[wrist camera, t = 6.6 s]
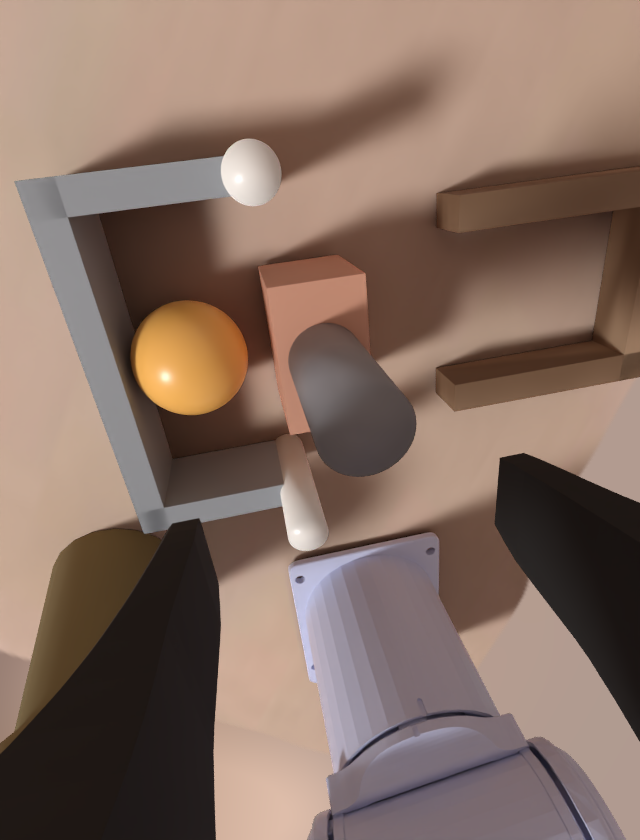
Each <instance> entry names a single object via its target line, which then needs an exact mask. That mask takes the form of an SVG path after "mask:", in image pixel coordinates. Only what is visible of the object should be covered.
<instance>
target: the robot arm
mask: <svg viewBox="0 0 640 840" xmlns="http://www.w3.org/2000/svg"><path fill="white" fill-rule="evenodd" d="M495 526H496V527H497V529H498V531H499V533H500V535H501V536H502V538H503V540H504V542H505V544H506V545H507V547H508V549H509V550H510V552H511V554H512V556H513V557H514V559H515V560H516V562H517V563H518V564H519V566H520V567H521V569H522V570H523V571H524V573H525V574H526V575H527V577H528V578H529V579H530V581H531V582H532V583H533V584H534V586H535V587H536V588H537V590H538V591H539V592H540V594H541V595H542V596H543V598H544V599H545V600H546V601H547V603H548V604H549V605H550V607H551V608H552V609H553V611H554V612H555V613H556V615H557V616H558V617H559V618H560V620H561V621H562V622H563V624H564V625H565V626H566V627H567V629H568V630H569V631H570V632H571V634H572V635H573V637H574V638H575V639H576V641H577V642H578V643H579V645H580V646H581V648H582V649H583V650H584V652H585V653H586V655H587V656H588V657H589V659H590V661H591V662H592V664H593V666H594V667H595V668H596V670H597V672H598V674H599V675H600V677H601V678H602V680H603V681H604V683H605V685H606V686H607V688H608V689H609V691H610V693H611V694H612V696H613V697H614V699H615V701H616V702H617V704H618V706H619V707H620V709H621V711H622V712H623V714H624V716H625V718H626V719H627V721H628V723H629V724H630V726H631V728H632V729H633V731H634V733H635V734H636V736H637V738H638V740H639V741H640V503H639V502H636V501H634V500H631V499H629V498H627V497H624V496H622V495H619V494H617V493H614V492H612V491H610V490H608V489H605V488H603V487H601V486H599V485H596V484H594V483H592V482H589V481H587V480H585V479H583V478H581V477H578V476H576V475H574V474H572V473H570V472H567V471H565V470H563V469H561V468H559V467H556V466H554V465H552V464H549V463H547V462H545V461H543V460H540V459H538V458H535V457H533V456H530V455H528V454H525V453H522V454H517V455H512V456H507V457H502V458H500V464H499V476H498V489H497V501H496V514H495ZM431 547H432V548H431ZM428 548H431V549H429V550H427V549H428ZM288 571H289V576H290V581H291V587H292V592H293V597H294V602H295V607H296V613H297V618H298V623H299V628H300V633H301V639H302V644H303V649H304V654H305V659H306V665H307V670H308V675H309V679H310V681H312V682H314V683H317V685H318V690H319V695H320V701H321V706H322V712H323V717H324V722H325V728H326V733H327V738H328V744H329V749H330V755H331V759H332V765H333V770H334V774H332V775H329V776H328V777H327V778H326V782H327V788H328V794H329V800H330V805H331V810H330V809H329V810H326V811H323V812H320V813H319V814H317V815H316V816H315V818H314V821H313V824H312V829H311V831H310V833H309V836H308V838H307V840H626V838H625V837H624V835H623V833H622V831H621V829H620V827H619V826H618V824H617V822H616V820H615V819H614V817H613V815H612V813H611V812H610V810H609V808H608V807H607V805H606V804H605V802H604V800H603V798H602V797H601V795H600V794H599V792H598V791H597V789H596V788H595V786H594V785H593V783H592V782H591V780H590V779H589V778H588V776H587V775H586V774H585V772H584V771H583V770H582V768H581V767H580V766H579V765H578V764H577V762H576V761H575V760H574V759H573V758H572V757H571V756H570V755H568V754H567V753H566V752H565V751H563V750H561V749H560V748H558V747H556V746H554V745H553V744H552V743H551V742H550V741H548V740H546V739H545V738H543V737H534V738H532V739H528V740H525V738H524V736H523V734H522V732H521V731H520V728H519V727H518V725H517V723H516V721H515V719H514V717H513V715H512V714H510V713H508V714H504V715H501V716H500V714H499V712H498V710H497V708H496V707H495V705H494V703H493V701H492V699H491V697H490V695H489V693H488V691H487V689H486V687H485V685H484V683H483V682H482V679H481V677H480V676H479V674H478V672H477V670H476V668H475V666H474V664H473V662H472V660H471V658H470V656H469V654H468V652H467V650H466V648H465V646H464V644H463V642H462V640H461V639H460V637H459V635H458V633H457V631H456V629H455V627H454V625H453V623H452V621H451V619H450V617H449V615H448V613H447V611H446V609H445V607H444V605H443V604H442V602H441V600H440V598H439V539H438V537H437V535H436V534H435V533H432V532H428V533H423V534H418V535H414V536H409V537H404V538H400V539H395V540H390V541H386V542H381V543H376V544H372V545H367V546H362V547H358V548H353V549H348V550H344V551H339V552H334V553H330V554H325V555H320V556H316V557H311V558H306V559H302V560H297V561H294V562H292V563H291V564H290V565H289V568H288ZM298 576H303V577H301V578H297V577H298ZM220 631H221V620H220V599H219V583H218V580H217V576H216V573H215V569H214V566H213V563H212V559H211V556H210V552H209V549H208V545H207V542H206V539H205V535H204V532H203V528H202V525H201V521H200V518H197V519H192V520H187V521H182V522H177V523H172V524H171V526H170V527H169V528H168V530H167V532H166V534H165V535H164V537H163V539H162V541H161V543H160V545H159V546H158V548H157V550H156V552H155V553H154V555H153V557H152V559H151V560H150V562H149V564H148V566H147V567H146V569H145V571H144V572H143V574H142V576H141V577H140V579H139V580H138V582H137V584H136V585H135V587H134V588H133V590H132V592H131V593H130V595H129V597H128V598H127V600H126V601H125V603H124V604H123V606H122V607H121V609H120V610H119V612H118V613H117V614H116V616H115V617H114V619H113V620H112V622H111V623H110V625H109V626H108V628H107V629H106V630H105V632H104V633H103V635H102V636H101V638H100V639H99V640H98V642H97V643H96V644H95V646H94V647H93V648H92V650H91V651H90V652H89V654H88V655H87V656H86V658H85V659H84V660H83V661H82V663H81V664H80V665H79V667H78V668H77V669H76V670H75V671H74V673H73V674H72V675H71V676H70V678H69V679H68V680H67V681H66V683H65V684H64V685H63V686H62V687H61V689H60V690H59V691H58V692H57V693H56V694H55V695H54V697H53V698H52V699H51V700H50V701H49V702H48V703H47V704H46V706H45V707H44V708H43V709H42V710H41V711H40V712H39V713H38V714H37V715H36V716H35V718H34V719H33V720H32V721H31V722H30V723H29V724H28V725H27V726H26V727H25V729H24V730H23V731H22V732H21V733H20V734H19V735H18V736H17V737H16V738H15V739H14V740H13V742H12V743H11V744H10V745H9V746H8V747H7V748H6V749H5V750H4V751H3V752H2V753H1V754H0V840H216V832H215V801H214V760H213V749H214V722H215V708H216V693H217V678H218V663H219V647H220Z"/></svg>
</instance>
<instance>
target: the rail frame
mask: <svg viewBox="0 0 640 840" xmlns="http://www.w3.org/2000/svg"><path fill="white" fill-rule="evenodd" d="M608 211H613V215H612V221H611V227H610V233H609V240H608V246H607V252H606V258H605V264H604V270H603V276H602V282H601V288H600V295H599V301H598V307H597V313H596V319H595V325H594V331H593V337H592V341H587V342H581V343H575V344H569V345H564V346H558V347H552V348H547V349H541V350H535V351H530V352H524V353H518V354H513V355H507V356H501V357H496V358H490V359H484V360H478V361H473V362H467V363H461V364H456V365H450V366H444V367H439V368H436V393H437V394H438V395H439V396H440V397H441V398H442V399H443V400H444V401H445V402H446V403H447V404H448V405H449V406H450V407H451V408H452V409H453V410H454V412H455V411H460V410H466V409H471V408H476V407H482V406H487V405H493V404H498V403H503V402H509V401H514V400H519V399H525V398H530V397H535V396H541V395H546V394H551V393H557V392H562V391H567V390H573V389H578V388H583V387H589V386H594V385H600V384H605V383H610V382H616V381H621V380H626V379H632V378H637V377H640V166H637V167H629V168H622V169H614V170H607V171H600V172H592V173H585V174H577V175H570V176H562V177H555V178H548V179H540V180H533V181H525V182H518V183H511V184H503V185H496V186H488V187H481V188H473V189H466V190H459V191H451V192H444V193H437V224H436V228H439V229H444V230H448V231H452V232H456V233H463V232H470V231H477V230H484V229H491V228H498V227H505V226H511V225H518V224H525V223H532V222H539V221H546V220H553V219H560V218H567V217H574V216H580V215H587V214H594V213H601V212H608Z"/></svg>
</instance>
